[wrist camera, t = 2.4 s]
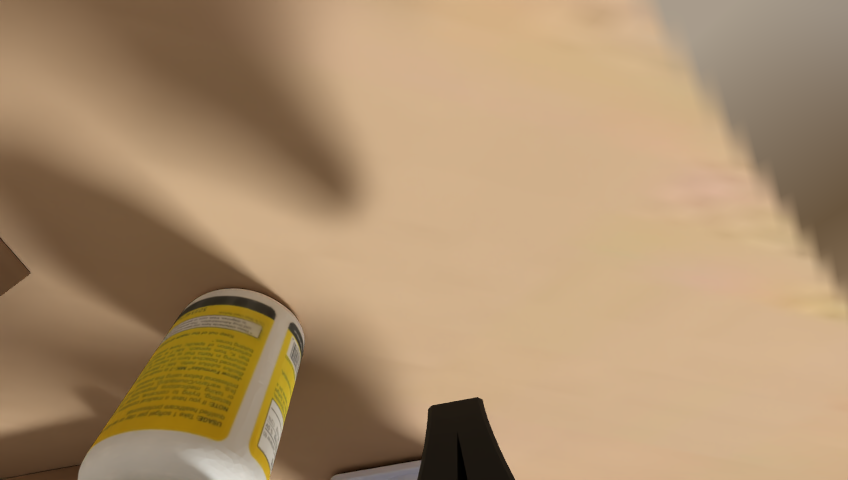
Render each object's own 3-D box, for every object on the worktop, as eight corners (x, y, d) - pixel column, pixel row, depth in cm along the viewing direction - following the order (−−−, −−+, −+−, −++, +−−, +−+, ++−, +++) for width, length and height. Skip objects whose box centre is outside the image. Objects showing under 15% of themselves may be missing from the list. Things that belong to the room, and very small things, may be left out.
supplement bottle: (155, 322, 16) (-45, 590, 9) (243, 263, 15) (95, 516, 8) (248, 388, 18) (146, 648, 11) (331, 342, 17) (279, 598, 10)
